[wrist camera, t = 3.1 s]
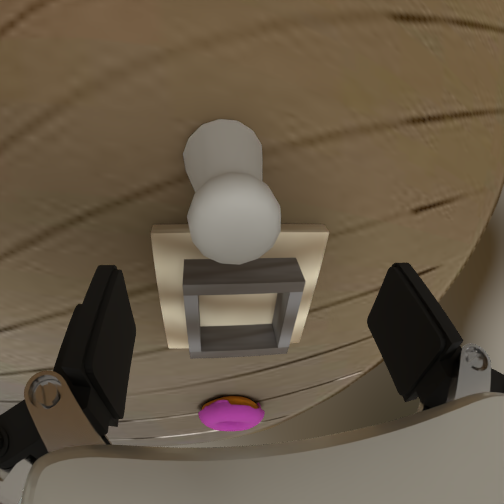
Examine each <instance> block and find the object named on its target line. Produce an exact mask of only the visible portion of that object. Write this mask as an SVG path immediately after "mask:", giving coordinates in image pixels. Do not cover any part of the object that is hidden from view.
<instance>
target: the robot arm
mask: <svg viewBox="0 0 504 504" xmlns="http://www.w3.org/2000/svg"><path fill="white" fill-rule="evenodd" d="M367 324H368V327H369V329H370V331H371V333H372V336H373V338H374V340H375V342H376V344H377V346H378V348H379V350H380V353H381V355H382V357H383V359H384V361H385V363H386V366H387V368H388V370H389V372H390V375H391V377H392V379H393V381H394V384H395V386H396V388H397V391H398V393H399V394H400V395H402V396H403V398H404V401H405V402H407V401H411V400H414V399H416V398H417V397H419V398H420V403H419V407H418V410H417V413H415V414H412V415H409V416H406V417H402V418H399V419H395V420H392V421H388V422H385V423H381V424H377V425H373V426H370V427H365V428H361V429H357V430H352V431H348V432H343V433H338V434H333V435H328V436H323V437H316V438H310V439H304V440H297V441H290V442H282V443H273V444H263V445H251V446H239V447H213V448H169V447H166V448H165V447H146V446H126V445H112V443H111V442H110V441H109V439H108V438H107V436H106V435H105V434H107V433H108V426H116V427H118V419H123V416H124V410H125V402H126V394H127V386H128V379H129V373H130V366H131V360H132V354H133V348H134V342H135V336H136V326H135V322H134V318H133V315H132V311H131V307H130V303H129V299H128V295H127V290H126V286H125V282H124V277H123V273H122V270H117V267H116V266H115V265H99V266H98V267H97V269H96V272H95V274H94V277H93V279H92V281H91V284H90V286H89V289H88V291H87V294H86V296H85V299H84V301H83V304H78V305H77V306H76V308H75V310H74V312H73V315H72V317H71V320H70V323H69V325H68V328H67V331H66V334H65V337H64V339H63V342H62V345H61V348H60V351H59V354H58V357H57V360H56V363H55V367H54V370H53V371H50V370H49V371H41V372H39V373H36V374H35V375H34V376H32V377H31V378H30V380H29V381H28V382H27V384H26V387H25V390H24V398H25V400H23V401H21V402H20V403H18V404H17V405H15V406H14V407H12V408H11V409H9V410H8V411H6V412H5V413H3V414H2V415H0V504H18V503H19V501H20V498H21V497H22V502H21V504H504V375H503V374H501V373H499V372H497V371H496V370H494V369H492V368H491V360H490V358H489V356H488V354H487V353H486V351H485V350H484V349H483V348H481V347H480V346H478V345H476V344H467V345H465V346H464V347H463V348H461V347H460V344H461V343H462V342H463V339H462V338H461V336H460V335H459V333H458V331H457V330H456V328H455V327H454V325H453V324H452V322H451V321H450V319H449V318H448V316H447V315H446V313H445V312H444V310H443V309H442V307H441V306H440V305H439V303H438V302H437V300H436V299H435V297H434V296H433V295H432V293H431V292H430V290H429V289H428V288H427V286H426V285H425V284H424V282H423V281H422V279H421V278H420V277H419V275H418V274H417V273H416V271H415V270H414V269H413V268H412V266H411V265H410V264H409V263H394V264H393V265H392V267H390V268H389V269H388V271H387V274H386V276H385V279H384V281H383V284H382V286H381V288H380V291H379V293H378V296H377V298H376V300H375V303H374V305H373V307H372V309H371V312H370V314H369V316H368V319H367ZM23 489H24V490H23Z"/></svg>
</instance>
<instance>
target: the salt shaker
mask: <svg viewBox="0 0 504 504" xmlns="http://www.w3.org/2000/svg"><path fill="white" fill-rule="evenodd" d="M183 158H184V164H185V169H186V172H187V175H188V177H189V179H190V182H191V184H192V186H193V188H194V191H195V194H194V197H193V200H192V202H191V205H190V208H189V211H188V215H187V219H188V224H189V229H190V234H191V238H192V242H193V243H194V244H195V246H196V247H197V248H198V249H199V251H200V252H201V253H202V254H203V255H204V256H205V257H208V258H210V259H212V260H214V261H216V262H219V263H222V264H238V265H240V264H243V263H246V262H249V261H252V260H255V259H258V258H259V257H261V256H262V255H263V254H265V253H266V252H267V251H268V250H270V249H271V248H272V247H273V246H274V244H275V242H276V240H277V238H278V236H279V234H280V232H281V210H280V205H279V203H278V202H277V200H276V198H275V197H274V195H273V193H272V192H271V190H270V188H269V187H268V185H267V184H265V183H264V182H262V145H261V143H260V141H259V140H258V138H257V136H256V135H255V133H254V131H253V130H251V129H250V128H248V127H247V126H245V125H244V124H242V123H241V122H239V121H236V120H225V119H218V120H215V121H212V122H208V123H205V124H202V125H201V126H200V127H199V128H198V129H197V130H196V131H195V132H194V133H193V134H192V135H191V136H190V137H189V139H188V142H187V144H186V147H185V150H184V152H183Z"/></svg>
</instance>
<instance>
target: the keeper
mask: <svg viewBox="0 0 504 504" xmlns="http://www.w3.org/2000/svg"><path fill="white" fill-rule="evenodd" d="M328 235H329V231H328V230H327V228H326V226H325V225H324V224H281V232H280V234H279V236H278V238H277V240H276V242H275V244H274V246H273V247H272V248H271V249H270V250H268V251H267V252H266V253H265V254H263V255H262V256H261V257H259V258H258V259H255V260H252V261H249V262H246V263H243V264H240V265H238V264H222V263H219V262H216V261H214V260H212V259H210V258H208V257H205V256H204V255H203V254H202V253H201V252H200V251H199V249H198V248H197V247H196V246H195V244H194V243H193V242H192V238H191V234H190V229H189V224H160V225H153V226H152V230H151V241H152V249H153V257H154V264H155V272H156V279H157V285H158V292H159V298H160V304H161V310H162V316H163V321H164V327H165V332H166V337H167V342H168V347H169V348H189V352H190V358H225V357H245V356H261V355H274V354H286V353H287V351H288V348H289V344H290V343H298V342H299V341H300V338H301V335H302V331H303V328H304V325H305V321H306V318H307V315H308V311H309V308H310V304H311V301H312V297H313V293H314V290H315V286H316V282H317V279H318V275H319V271H320V267H321V263H322V260H323V256H324V252H325V248H326V244H327V240H328Z"/></svg>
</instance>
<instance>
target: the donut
mask: <svg viewBox="0 0 504 504" xmlns="http://www.w3.org/2000/svg"><path fill="white" fill-rule="evenodd" d="M258 406H259V407H258ZM198 414H199V418H200V420H201V421H202V423H204V424H205V425H206V426H208V427H209V428H212V429H214V430H219V431H242V430H247V429H250V428H252V427H254V426H255V425H257V424H258V423H259V422H260V421H261V420H262V419H263V417H264V411H263V410H262V409H261V407H260V404H259V403H257V404H256V403H254V402H253V401H252V400H250V399H248V398H245V397H240V396H227V397H222V398H218V399H215V400H213V401H210V402H208V403H206V404H204V405H203V407H202V410H201V411H200V412H199V413H198Z"/></svg>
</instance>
